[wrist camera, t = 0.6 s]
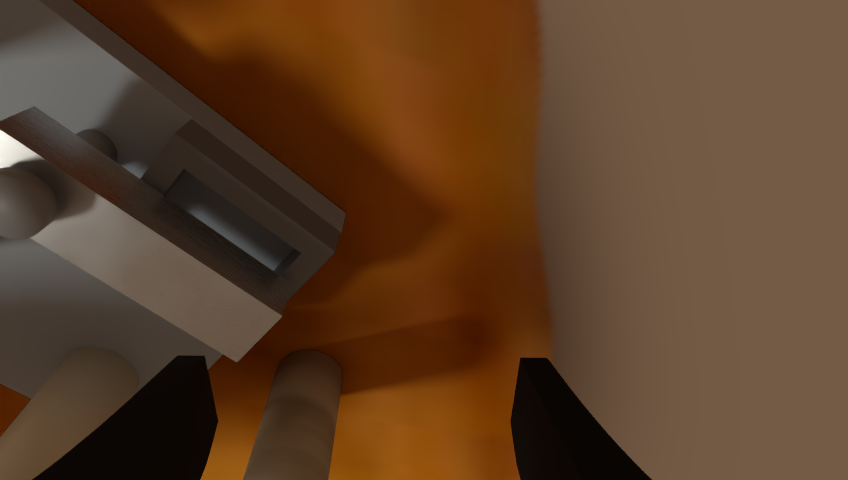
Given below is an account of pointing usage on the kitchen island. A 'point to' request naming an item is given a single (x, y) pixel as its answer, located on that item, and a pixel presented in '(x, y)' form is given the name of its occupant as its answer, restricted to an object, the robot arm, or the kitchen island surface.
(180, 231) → the bar
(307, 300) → the kitchen island surface
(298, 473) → the leg peg
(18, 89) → the board
